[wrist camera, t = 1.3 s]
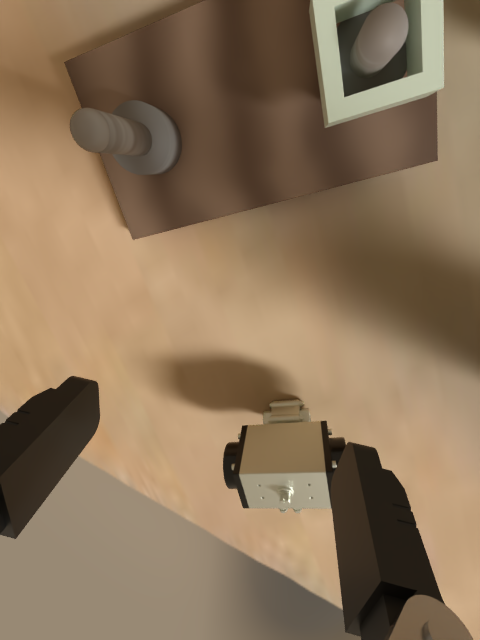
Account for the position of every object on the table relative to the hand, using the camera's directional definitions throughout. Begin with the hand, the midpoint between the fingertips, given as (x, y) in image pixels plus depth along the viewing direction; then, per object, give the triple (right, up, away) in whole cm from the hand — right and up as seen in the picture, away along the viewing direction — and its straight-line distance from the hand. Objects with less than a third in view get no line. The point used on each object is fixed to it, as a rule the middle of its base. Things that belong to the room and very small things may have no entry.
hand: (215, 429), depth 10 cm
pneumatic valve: (+7, -8, +29) cm, 30 cm away
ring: (+8, +19, +9) cm, 23 cm away
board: (+2, +20, +16) cm, 26 cm away
